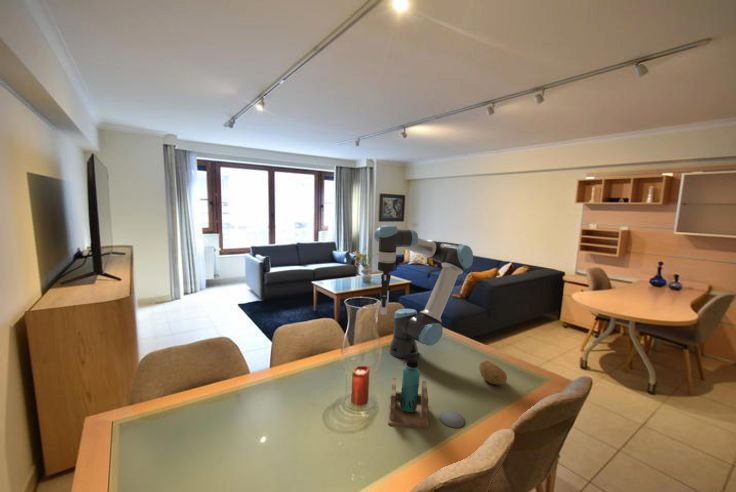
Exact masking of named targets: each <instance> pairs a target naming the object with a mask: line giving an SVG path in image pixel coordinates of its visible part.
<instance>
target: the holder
mask: <svg viewBox="0 0 736 492" xmlns="http://www.w3.org/2000/svg"><path fill="white" fill-rule="evenodd" d="M391 382H392V383H391V393H390V397H389V408H388V409H389V410H388V422H387V423H388V426H399V427H405V428H412V429H413V428H414V429H415V428H416V429H421V430H429V420H428V412H429V411H428V410H429V394H428V393H429V392H428V385H427V384H428V383H427V381H426V380H422V381H421V393H418V402H417V408H416V410H415V411H413V412H407V411H404V410H402V409H401V407H400V400H401V397H400V396H401V391H397V377H392V379H391Z"/></svg>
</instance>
